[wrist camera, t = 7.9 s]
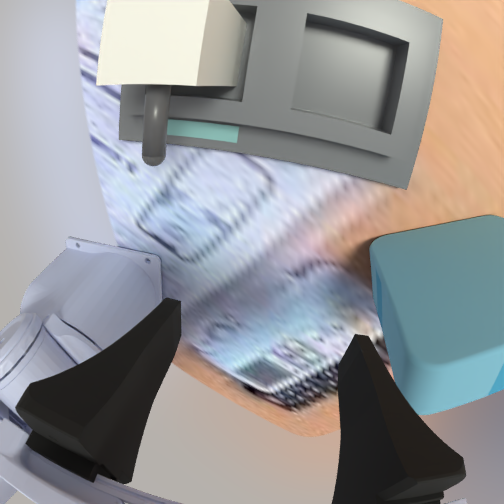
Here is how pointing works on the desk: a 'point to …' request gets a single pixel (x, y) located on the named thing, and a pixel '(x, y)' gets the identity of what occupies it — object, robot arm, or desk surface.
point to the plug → (169, 54)
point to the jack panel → (314, 88)
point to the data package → (443, 310)
